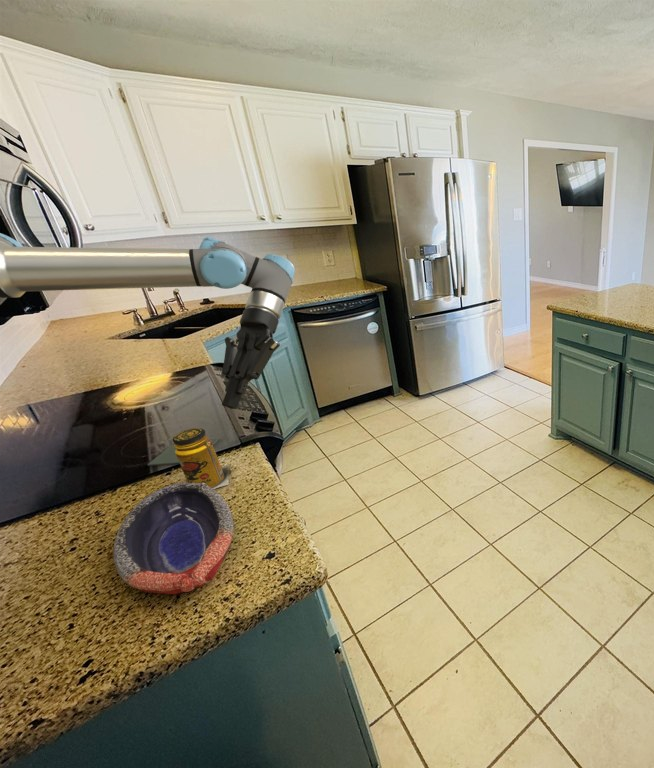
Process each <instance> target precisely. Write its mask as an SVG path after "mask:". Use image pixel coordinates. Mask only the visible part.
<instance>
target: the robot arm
mask: <svg viewBox="0 0 654 768" xmlns="http://www.w3.org/2000/svg"><path fill="white" fill-rule="evenodd" d="M295 272H296V269H295V266H294V264H293V263H292V261H290V260H289V259H287V258H286V257H284V256H281V255H276V254H273V253H268V254H266V255H264V257H263V258H260V257H258V256H255V255H252V254H250V253H248V252H246V251H243V250H242V249H239V248H237V247H234V246H232V245H230V244H228V243H226V242H225V241H223V240H218V239H216V238H214V237H212V236H206V237H204V238H203V239H202V241H201V243H200V245H199V247H198V248H152V247H151V248H147V247H146V248H143V247H141V248H140V247H139V248H138V247H69V246H68V247H67V246H65V247H61V246H24V245H22V244H21V243H20V242H19V241H18V240H16V239H14V238H12V237H11V236H8V235H7V234H4V233H1V232H0V306H1V305H2V304H3V303H4V302H5V301H6V300H7V299H11V298H13V299H14V298H21V297H22V296H23V295H24V294H25V293H26V292H49V291H50V292H51V291H53V292H54V291H85V290H86V291H87V290H89V291H90V290H120V289H121V290H122V289H123V290H125V289H126V290H127V289H154V288H155V289H156V288H159V289H161V288H189V287H190V288H192V287H195V288H196V287H199V288H201V287H203V288H208V287H210V288H211V287H215V288H219V289H225V290H229V289H234V288H236V287H238V286H240V285H243V286H244V287H248V288H251V290H250V293H249V296H248V298H247V299H246V302H245V306H244V308H245V309H244V310H243V312H242V314H241V316H240V320H239V325H240V329H239V330H238V331H237V332H236V335H234V336H233V337H229V336H226V337H225V338H224V343H225V351H224V359H223V364H222V375H223V376H226V377H227V378H228V380H227V382H226V383H227V384H226V385H225V389H224V390H225V395H224V397H223V399H222V403H221V406H223V407H225V408H227V409H230V410H238V407H239V404H240V401H241V399H242V396H243V395H244V394H245V393H246V391H247V388H248V385H249V383H250V382H252V380H259V378H260V376H261V375H262V374H263V371H264V370H265V368H266V366H267V365H268V363H269V361H270V359H271V357H272V356H273V354H274V352H275V351H276V350H278V348H280V346H281V344H280V342H278V341H277V340H275V339H273V338H274V334H275V333H276V331H277V328H278V326H279V323H280V321H279V320H280V319H281V316H282V312H283V310H284V307H285V304H286V301H287V298H288V296H289V293H290V290H291V288H292V286H293V285H292V284H293V283H294V282H293V281H294V276H295Z"/></svg>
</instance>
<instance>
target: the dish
mask: <svg viewBox="0 0 654 768" xmlns="http://www.w3.org/2000/svg"><path fill="white" fill-rule="evenodd" d="M234 531H235V525H234V518H233V514H232V512H231V508H230V506H229V504H228V502H227V501H226V500H225V499H224V497H223V496H222V495H221V494H220V493H219V492H218V491H216V489H212V488H211V487H209V486H208V485H206V484H205V483H188V482H179V483H173V484H170V485H167V486H164V487H161V488H159V489H157V490H155V491H154V492H151V494H149V495H147V496H146V497H144V498H143V499H142V500H140V501H139V502H138V503H137V504H136V505H135V506H134V507H133V508H132V509H131V510H130V511H129V512H128V514H127V515H126V517H125V518H123V521H122V523H121V524H120V526H119V528H118V531H117V532H116V535H115V539H114V542H113V549H112V552H113V553H112V555H113V562H114V567H115V569H116V572H117V574H118V575H119V577H120V578H121V579H122V581H123V582H124V583H126V584H127V585H128V586H130V587H132V588H134V589H136V590H139V591H142V592H145V593H151V594H165V595H176V594H178V595H179V594H181V593H188V592H191V591H193V590H194V589H197V588H200V587H202V586H205V585H207V584H208V583H209V582H211V581H212V580H213V579H214V578H215V577H216V575H217V573H218V571H219V569H220V567H221V566H222V564H223V562H224V560H225V558H226V557H227V555H228V553H229V551H230V549H231V545H232V542H233V536H234Z"/></svg>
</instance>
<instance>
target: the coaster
mask: <svg viewBox="0 0 654 768" xmlns="http://www.w3.org/2000/svg"><path fill="white" fill-rule="evenodd" d="M208 439H209V440H211V442H212V444H213V446H214V445H216V443H217V442H219V440H220V439H219V437H217V438H208ZM175 451H176V448H175V444H174V442H172V444H170V445H169V446H167V448H166V449H164V450H163V451H161V453H160V454H159V455H157V456H156V457H155V458H153V459H152V460H151V461H150V462H149V463H147V467H153V466H166V465H180V463H179V461H178V458H177V456H176V453H175Z"/></svg>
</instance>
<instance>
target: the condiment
mask: <svg viewBox="0 0 654 768" xmlns="http://www.w3.org/2000/svg"><path fill="white" fill-rule="evenodd" d="M209 439H210V438H209V437H208V435H207V433H206V430H205V429H204V428H200V427H195V428H189V429H185V430H183V431H181V432H178V433H177V434H175V435H174V436H173V438H172V443H174V444H175V448H176V451H175V453H176V456H177V458H178V461H179V463H180V464H179V466H180V468H181V470H182V472H183V475H184V477H185V480H186V483H205V484H206V485H208V486H209V487H211V488H212V489H213V490H216V489H218V488H221V487H224V486H229V484H230V483H229V482H230V463H228V464H226V465H223V466H222V465H221V463H220V461H219V460H220V459H219V458H218V455H217V452H216V450H215V447H214V445H213V444H212V442H211V440H209Z"/></svg>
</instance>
